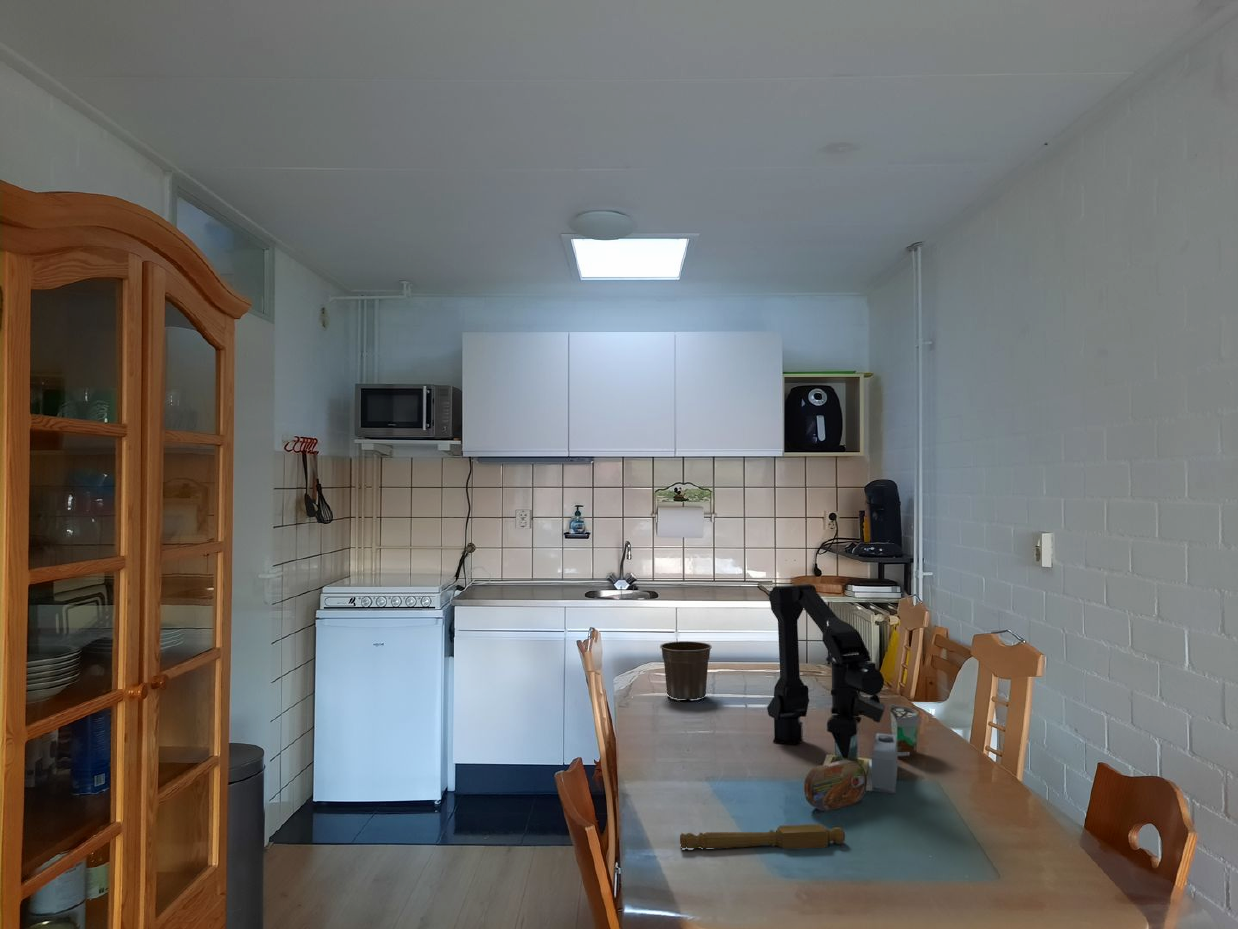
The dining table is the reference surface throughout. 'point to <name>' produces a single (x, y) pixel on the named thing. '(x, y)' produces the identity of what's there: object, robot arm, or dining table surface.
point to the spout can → (852, 751)
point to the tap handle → (767, 838)
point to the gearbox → (879, 764)
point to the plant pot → (686, 668)
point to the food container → (904, 730)
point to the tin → (835, 785)
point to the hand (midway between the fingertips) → (846, 754)
